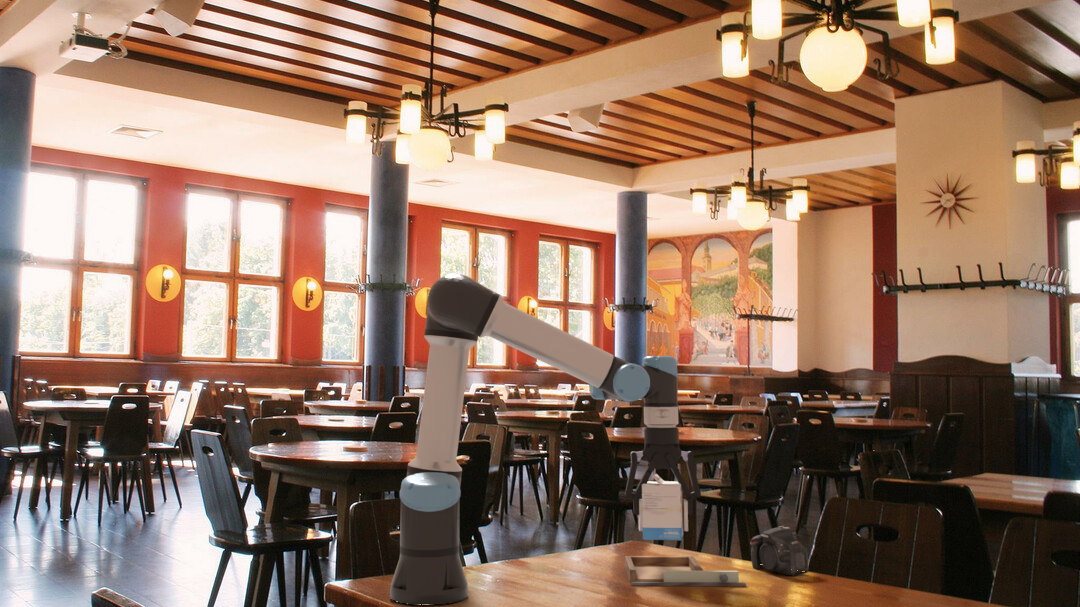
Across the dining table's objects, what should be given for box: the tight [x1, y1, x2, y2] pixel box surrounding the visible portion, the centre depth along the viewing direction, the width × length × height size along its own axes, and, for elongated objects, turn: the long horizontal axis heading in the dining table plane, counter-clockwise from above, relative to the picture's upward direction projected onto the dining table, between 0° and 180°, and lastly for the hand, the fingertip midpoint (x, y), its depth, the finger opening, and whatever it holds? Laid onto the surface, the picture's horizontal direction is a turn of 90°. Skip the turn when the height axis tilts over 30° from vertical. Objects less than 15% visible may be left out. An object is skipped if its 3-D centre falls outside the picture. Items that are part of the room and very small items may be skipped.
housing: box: [624, 555, 747, 587], centre depth 193 cm, size 24×18×3 cm
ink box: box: [641, 473, 684, 541], centre depth 195 cm, size 9×8×13 cm
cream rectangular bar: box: [664, 570, 740, 583], centre depth 185 cm, size 15×2×3 cm, turn 89°
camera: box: [749, 525, 809, 576], centre depth 198 cm, size 13×10×10 cm
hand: (663, 530), depth 194 cm, fingers closed on ink box, 9 cm apart
